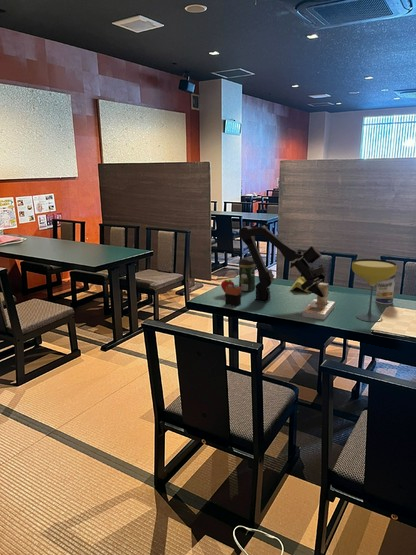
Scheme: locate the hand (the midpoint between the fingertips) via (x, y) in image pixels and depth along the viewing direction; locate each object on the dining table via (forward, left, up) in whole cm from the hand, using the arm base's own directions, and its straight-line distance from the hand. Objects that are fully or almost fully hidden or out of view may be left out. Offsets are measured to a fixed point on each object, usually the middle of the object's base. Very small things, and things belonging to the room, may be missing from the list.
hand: (325, 295), depth 192 cm
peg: (-1, 0, -7) cm, 7 cm away
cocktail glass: (+21, -4, -7) cm, 22 cm away
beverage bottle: (+24, +24, -7) cm, 34 cm away
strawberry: (-51, -1, -7) cm, 52 cm away
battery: (-41, -15, -7) cm, 44 cm away
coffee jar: (-46, +13, -7) cm, 49 cm away
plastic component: (-19, +32, -7) cm, 38 cm away
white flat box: (-1, -5, -7) cm, 9 cm away
